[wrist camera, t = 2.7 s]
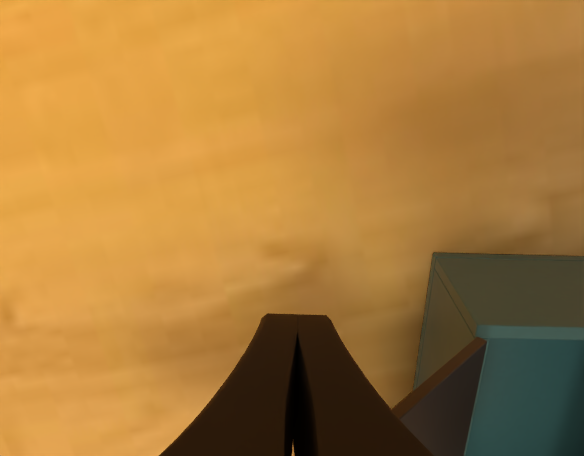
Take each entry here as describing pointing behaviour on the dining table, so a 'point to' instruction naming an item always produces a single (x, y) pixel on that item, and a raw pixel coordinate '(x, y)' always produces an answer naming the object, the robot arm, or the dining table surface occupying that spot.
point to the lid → (445, 402)
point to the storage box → (512, 347)
